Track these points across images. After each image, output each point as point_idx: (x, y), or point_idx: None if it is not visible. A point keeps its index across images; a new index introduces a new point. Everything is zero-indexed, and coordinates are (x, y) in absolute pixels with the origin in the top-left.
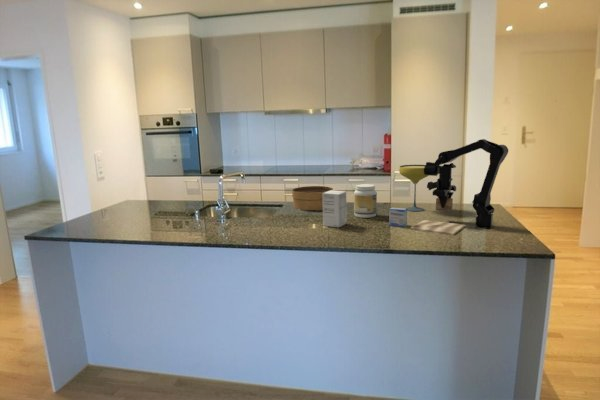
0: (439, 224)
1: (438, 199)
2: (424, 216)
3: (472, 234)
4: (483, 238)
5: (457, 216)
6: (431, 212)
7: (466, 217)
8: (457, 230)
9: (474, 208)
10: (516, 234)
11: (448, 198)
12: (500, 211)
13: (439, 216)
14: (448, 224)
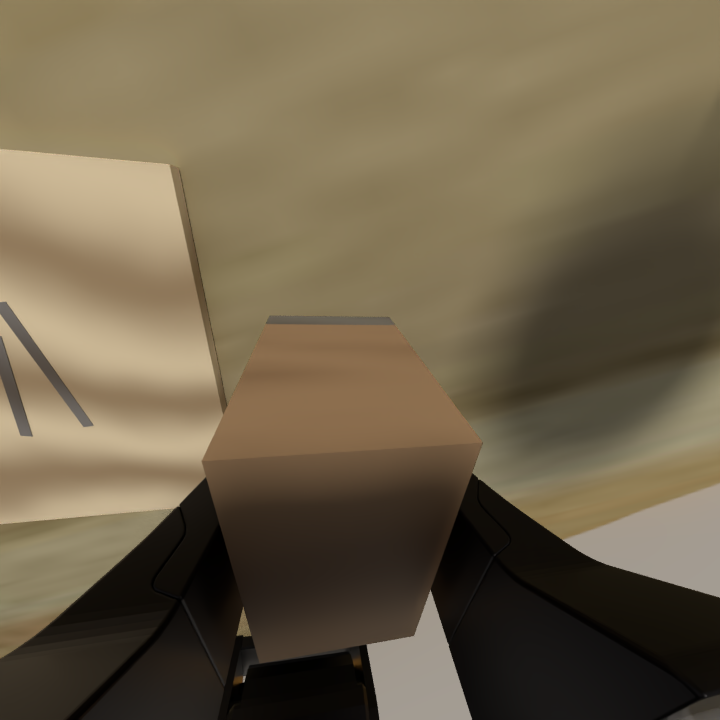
0: (106, 379)
1: (222, 496)
2: (450, 76)
3: (89, 563)
4: (60, 605)
5: (516, 380)
6: (674, 106)
7: (496, 431)
8: (55, 517)
9: (244, 686)
10: (244, 631)
11: (382, 611)
12: (655, 500)
13: (489, 256)
14: (169, 432)
